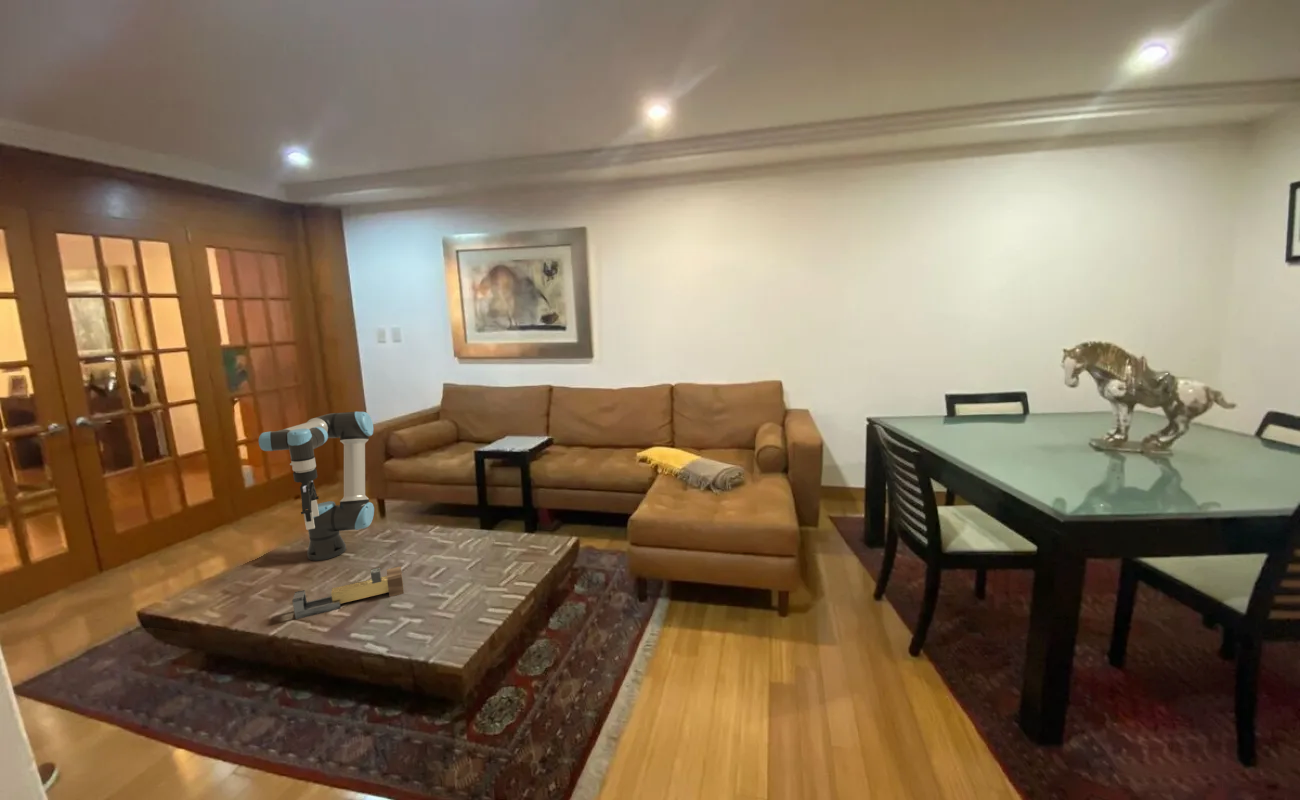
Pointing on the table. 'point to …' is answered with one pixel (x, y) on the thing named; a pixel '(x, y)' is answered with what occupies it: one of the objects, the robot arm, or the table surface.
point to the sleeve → (312, 605)
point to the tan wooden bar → (361, 588)
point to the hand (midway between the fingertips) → (312, 522)
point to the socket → (395, 581)
